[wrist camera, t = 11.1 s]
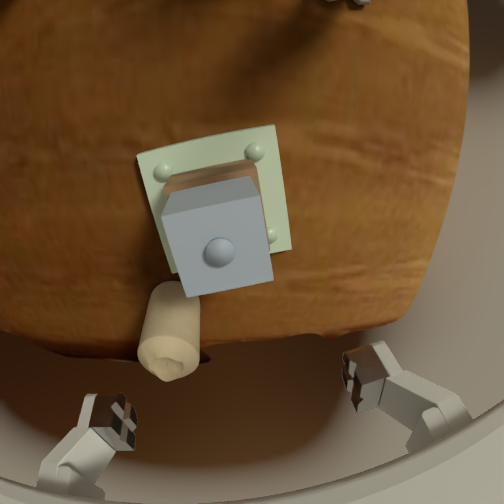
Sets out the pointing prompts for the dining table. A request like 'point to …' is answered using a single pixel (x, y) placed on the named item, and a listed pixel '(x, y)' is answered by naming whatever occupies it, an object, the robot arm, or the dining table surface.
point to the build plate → (213, 153)
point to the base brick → (214, 177)
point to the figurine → (358, 2)
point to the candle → (170, 332)
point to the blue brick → (218, 236)
